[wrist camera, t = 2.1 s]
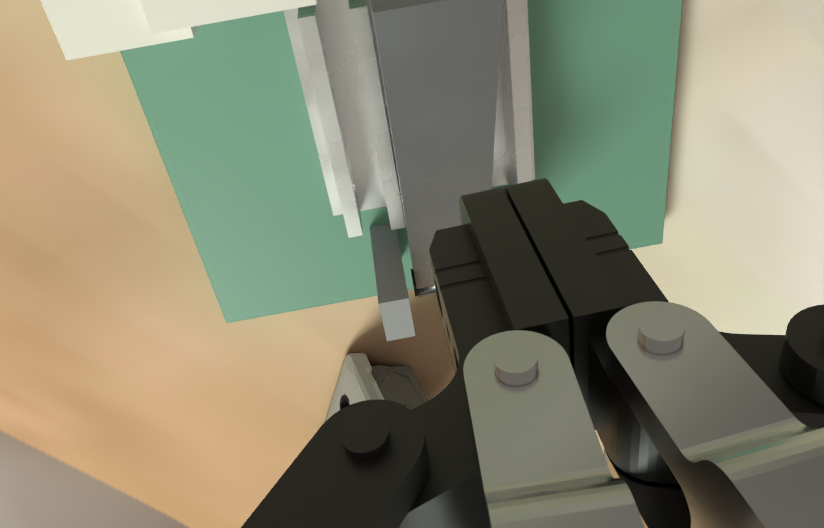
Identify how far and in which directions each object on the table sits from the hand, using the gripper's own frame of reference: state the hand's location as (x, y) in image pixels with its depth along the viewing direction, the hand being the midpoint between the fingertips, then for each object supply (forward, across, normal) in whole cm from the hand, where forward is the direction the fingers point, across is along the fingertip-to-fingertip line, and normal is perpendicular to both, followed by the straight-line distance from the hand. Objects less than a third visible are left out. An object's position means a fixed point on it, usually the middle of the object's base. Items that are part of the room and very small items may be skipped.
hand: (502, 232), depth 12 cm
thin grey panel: (+11, 0, +4) cm, 12 cm away
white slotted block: (+17, 0, +4) cm, 18 cm away
